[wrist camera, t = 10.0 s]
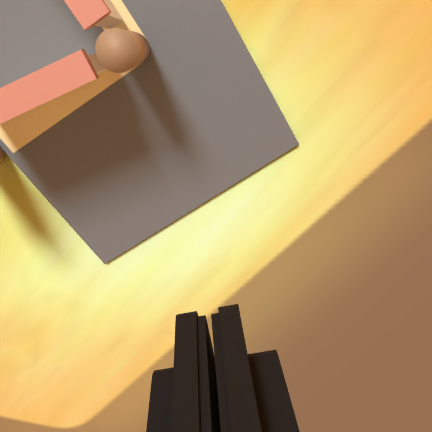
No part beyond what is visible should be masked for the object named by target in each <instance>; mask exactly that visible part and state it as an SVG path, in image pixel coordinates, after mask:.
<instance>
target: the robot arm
mask: <svg viewBox="0 0 432 432" xmlns="http://www.w3.org/2000/svg"><path fill="white" fill-rule="evenodd" d="M218 310H219V313H216V314H211V318H212V330H213V342H214V352H213V347H212V343H211V338H210V334H209V329H208V324H207V320H206V316H205V315H204V316H198V313H197V311H195V312H189V313H183V314H178V315H176V326H175V349H174V367H173V368H168V369H162V370H156V371H154V372H153V375H152V383H151V392H150V402H149V411H148V421H147V430H146V432H299V429H298V425H297V421H296V418H295V414H294V410H293V407H292V403H291V400H290V396H289V393H288V389H287V385H286V382H285V378H284V375H283V371H282V368H281V364H280V360H279V357H278V354H277V351H276V350H272V351H265V352H260V353H254V354H248V355H247V350H246V344H245V339H244V333H243V328H242V322H241V317H240V312H239V307H238V304H235V305H230V306H224V307H218ZM214 354H215V356H214Z"/></svg>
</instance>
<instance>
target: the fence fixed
mask: <svg viewBox="0 0 432 432" xmlns="http://www.w3.org/2000/svg"><path fill="white" fill-rule="evenodd" d="M64 1H65V3H66V4H67V5H68V7H69V8H70V10H71V11H72V13H73V14H74V16H75V17H76V18H77V20H78V21H79V23H80V24H81V26H82V27H83V28H84V30H89V29H90V28H91V27H93V26H99V27H104V28H109V29H107V30H105V31H103V32H102V33H101V34H100V35H99V37H98V39H97V41H96V45H95V51H96V56H97V58H98V60H99V62H100V63H101V65H102V66H103V67H104V68H106V69H107V70H109V71H111V72H114V73H123V72H126V71H128V70H130V69H132V68H134V67H136V66H137V65H139V64H141V63H143V62H144V61H145V60H146V59H147V58H148V56H149V52H150V47H149V43H148V41H147V39H146V38H145V37H144V36H143V35H142V34H140V33H138V32H133V31H129V30H124V29H120V28H114V27H116V26H117V25H119V24H120V23H121V22H123V21H124V20H123V19H122V17H121V16H120V14H119V12H118V11H117V9H116V8H115V6H114V5H113V3H112V2H111V0H64ZM4 157H5V152H4V151H3V149H2V147H1V146H0V162H1V161H3V159H4Z"/></svg>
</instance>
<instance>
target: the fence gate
mask: <svg viewBox="0 0 432 432" xmlns="http://www.w3.org/2000/svg"><path fill="white" fill-rule="evenodd" d="M105 70H107V69H106V68H104V67H103V66H102V65H101V63H100V62H99V60H98V58H97V56H96V54H92V55H87V53H86V51H85V49H81V50H79V51H77V52H75V53H72V54H70V55H68V56H66V57H64V58H62V59H60V60H58V61H56V62H54V63H52V64H50V65H47V66H45V67H43V68H41V69H39V70H37V71H35V72H33V73H31V74H29V75H27V76H24V77H22V78H20V79H18V80H16V81H14V82H12V83H10V84H8V85H6V86H4V87H2V88H0V124H1V123H4V122H6V121H8V120H10V119H12V118H14V117H16V116H18V115H21V114H23V113H25V112H27V111H29V110H31V109H33V108H35V107H38V106H40V105H42V104H44V103H46V102H48V101H50V100H52V99H55V98H57V97H59V96H61V95H63V94H65V93H67V92H70V91H72V90H74V89H76V88H78V87H80V86H82V85H84V84H87V83H89V82H91V81H93V80H95V79H97V78H99V76H98V74H99V73H101V72H103V71H105Z"/></svg>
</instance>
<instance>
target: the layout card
mask: <svg viewBox="0 0 432 432" xmlns="http://www.w3.org/2000/svg"><path fill="white" fill-rule="evenodd" d="M111 2H112V3H113V5H114V6H115V8H116V9H117V11H118V12H119V14H120V16H121V17H122V19H123V20H124V21H123V22H121V23H120V24H119V25H117V26H116V27H114V28H120V29H124V30H129V31H133V32H138V33H140V34H142V35H143V36H144V37H145V38H146V39H147V41H148V43H149V47H150V52H149V56H148V58H147V59H146V60H145V61H144V62H143V63H141V64H139V65H137V66H136V67H134V68H132V69H130V70H128V71H126V72H123V73H114V72H111V71H109V70H105V71H103V72H101V73H99V74H98V76H99V78H97V79H95V80H93V81H91V82H89V83H87V84H84V85H82V86H80V87H78V88H76V89H74V90H72V91H70V92H67V93H65V94H63V95H61V96H59V97H57V98H55V99H52V100H50V101H48V102H46V103H44V104H42V105H40V106H38V107H35V108H33V109H31V110H29V111H27V112H25V113H23V114H21V115H18V116H16V117H14V118H12V119H10V120H8V121H6V122H4V123H1V124H0V146H1V147H2V149H3V151H4V152H5V153H6V154H7V155H8V156H9V157H10V158H11V160H12V161H13V162H14V163H15V164H16V165H17V166H18V167H19V168H20V170H21V171H22V172H23V173H24V174H25V175H26V176H27V177H28V179H29V180H30V181H31V182H32V183H33V184H34V185H35V186H36V188H37V189H38V190H39V191H40V192H41V193H42V194H43V195H44V197H45V198H46V199H47V200H48V201H49V202H50V203H51V204H52V206H53V207H54V208H55V209H56V210H57V211H58V212H59V213H60V214H61V216H62V217H63V218H64V219H65V220H66V221H67V222H68V223H69V225H70V226H71V227H72V228H73V229H74V230H75V231H76V232H77V234H78V235H79V236H80V237H81V238H82V239H83V240H84V241H85V243H86V244H87V245H88V246H89V247H90V248H91V249H92V250H93V252H94V253H95V254H96V255H97V256H98V257H99V258H100V259H101V260H102V262H103V263H104V264H106V263H107V262H109V261H111V260H112V259H114V258H115V257H117V256H119V255H120V254H122V253H123V252H125V251H127V250H128V249H130V248H132V247H133V246H135V245H136V244H138V243H140V242H141V241H143V240H145V239H146V238H148V237H149V236H151V235H153V234H154V233H156V232H158V231H159V230H161V229H162V228H164V227H166V226H167V225H169V224H170V223H172V222H174V221H175V220H177V219H179V218H180V217H182V216H183V215H185V214H187V213H188V212H190V211H192V210H193V209H195V208H196V207H198V206H200V205H201V204H203V203H205V202H206V201H208V200H209V199H211V198H213V197H214V196H216V195H218V194H219V193H221V192H222V191H224V190H226V189H227V188H229V187H230V186H232V185H234V184H235V183H237V182H239V181H240V180H242V179H243V178H245V177H247V176H248V175H250V174H252V173H253V172H255V171H256V170H258V169H260V168H261V167H263V166H265V165H266V164H268V163H269V162H271V161H273V160H274V159H276V158H278V157H279V156H281V155H282V154H284V153H286V152H287V151H289V150H290V149H292V148H294V147H295V146H297V145H299V143H298V141H297V140H296V138H295V136H294V134H293V132H292V130H291V129H290V127H289V125H288V123H287V121H286V119H285V118H284V116H283V114H282V112H281V110H280V108H279V106H278V105H277V103H276V101H275V99H274V97H273V95H272V94H271V92H270V90H269V88H268V86H267V84H266V83H265V81H264V79H263V77H262V75H261V73H260V72H259V70H258V68H257V66H256V64H255V62H254V60H253V59H252V57H251V55H250V53H249V51H248V49H247V48H246V46H245V44H244V42H243V40H242V38H241V37H240V35H239V33H238V31H237V29H236V27H235V26H234V24H233V22H232V20H231V18H230V16H229V14H228V13H227V11H226V9H225V7H224V5H223V3H222V2H221V0H111ZM107 29H109V28H104V27H99V26H93V27H91V28H90V29H89V30H84V28H83V27H82V26H81V24H80V23H79V21H78V20H77V18H76V17H75V16H74V14H73V13H72V11H71V10H70V8H69V7H68V5H67V4H66V3H65V1H64V0H0V88H2V87H4V86H6V85H8V84H10V83H12V82H14V81H16V80H18V79H20V78H22V77H24V76H27V75H29V74H31V73H33V72H35V71H37V70H39V69H41V68H43V67H45V66H47V65H50V64H52V63H54V62H56V61H58V60H60V59H62V58H64V57H66V56H68V55H70V54H72V53H75V52H77V51H79V50H81V49H85V51H86V53H87V55H92V54H96V51H95V45H96V41H97V39H98V37H99V35H100V34H101V33H102V32H103V31H105V30H107Z"/></svg>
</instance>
